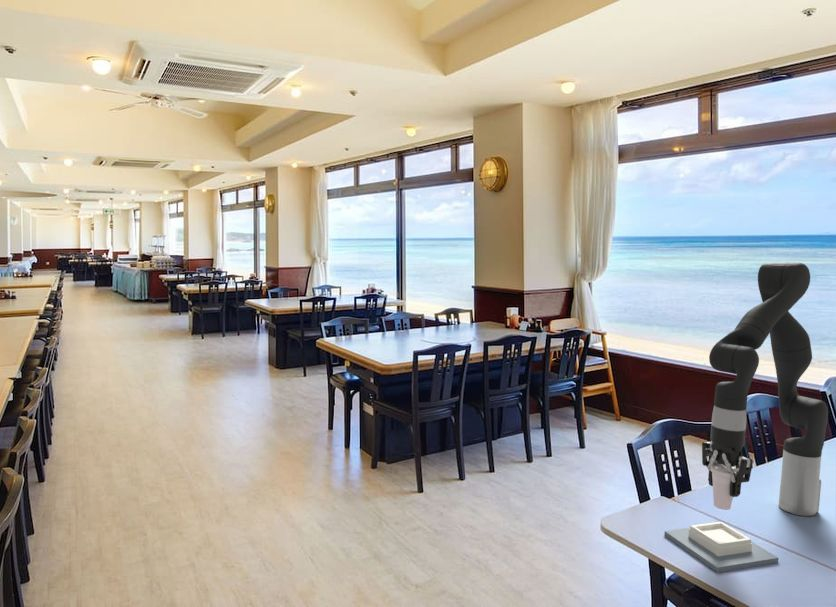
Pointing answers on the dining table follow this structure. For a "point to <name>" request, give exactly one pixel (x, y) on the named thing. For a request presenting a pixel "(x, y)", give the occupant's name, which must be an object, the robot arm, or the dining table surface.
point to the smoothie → (721, 487)
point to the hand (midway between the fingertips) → (723, 490)
